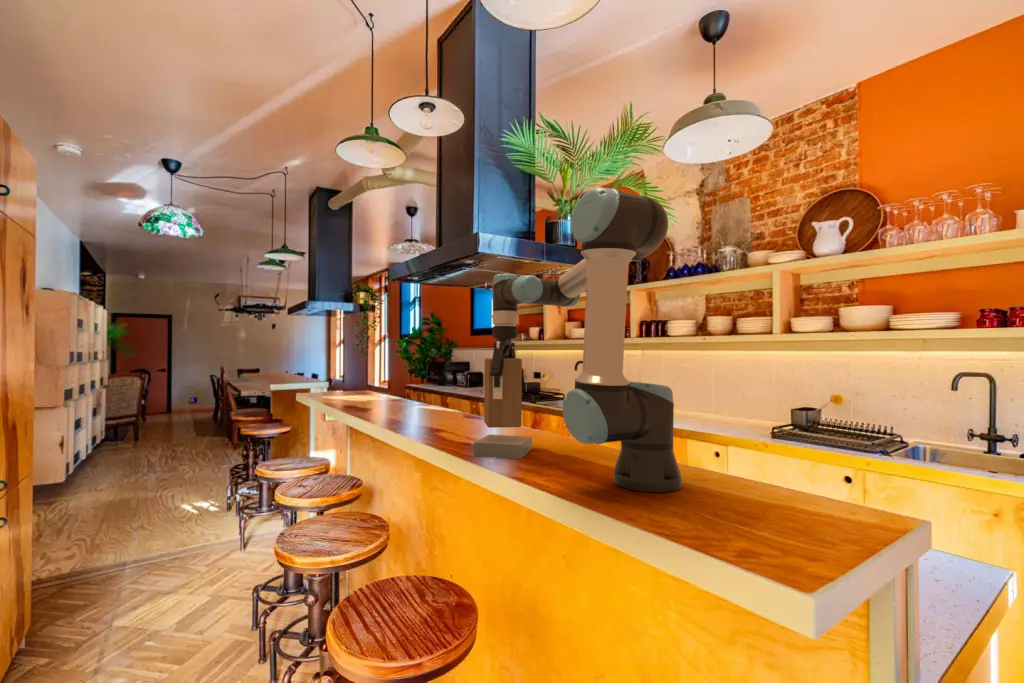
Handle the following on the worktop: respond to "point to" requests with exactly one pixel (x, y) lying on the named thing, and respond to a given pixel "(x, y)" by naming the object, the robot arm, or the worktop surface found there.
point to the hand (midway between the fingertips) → (504, 397)
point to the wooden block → (504, 395)
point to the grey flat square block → (503, 446)
